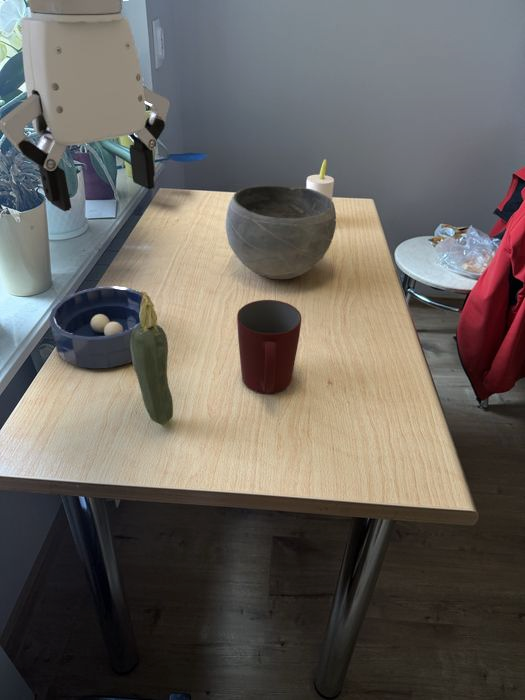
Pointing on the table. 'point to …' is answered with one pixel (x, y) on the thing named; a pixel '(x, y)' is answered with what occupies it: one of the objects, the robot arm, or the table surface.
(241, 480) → the table surface
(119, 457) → the table surface
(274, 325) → the mug
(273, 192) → the bowl
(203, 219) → the table surface
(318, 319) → the table surface
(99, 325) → the beige small ball
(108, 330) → the dumpling
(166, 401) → the vegetable
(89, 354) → the mixing bowl
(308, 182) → the candle
